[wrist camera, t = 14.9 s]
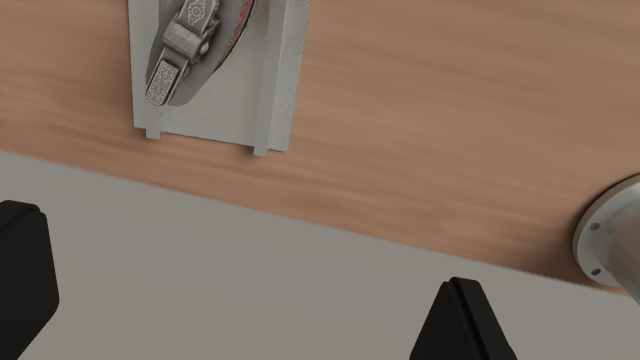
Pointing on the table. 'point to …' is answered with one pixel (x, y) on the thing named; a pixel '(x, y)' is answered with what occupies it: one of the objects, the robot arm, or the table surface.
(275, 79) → the track
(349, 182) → the table surface
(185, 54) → the lighter
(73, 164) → the table surface
